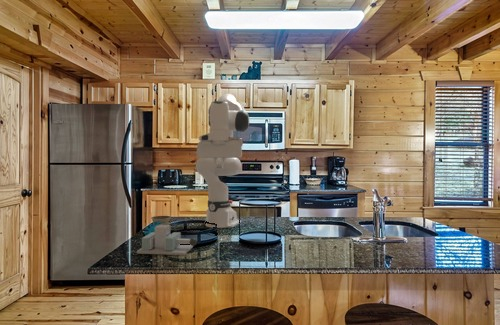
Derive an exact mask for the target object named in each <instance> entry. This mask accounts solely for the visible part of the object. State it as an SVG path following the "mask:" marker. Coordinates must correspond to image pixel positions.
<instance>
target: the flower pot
mask: <svg viewBox="0 0 500 325" xmlns="http://www.w3.org/2000/svg"><path fill="white" fill-rule="evenodd" d="M150 217H151V216H150ZM170 220H171V216H169V215H155V216H152V217H151V221H152V226H153V225H154V222H157V223H158V222H159V221H160V222H161V224H162V223H163V224H164V225H170ZM161 224H159V225H161Z"/></svg>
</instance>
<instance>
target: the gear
mask: <svg viewBox="0 0 500 325" xmlns="http://www.w3.org/2000/svg"><path fill="white" fill-rule="evenodd" d="M159 224H161V222H160V221H159V222H158V223H157V222H154V225H153V223H149V224H148V226H149V227H148V226H146V227H145V230H144V232H143V233H144V235H145V236H146V235H148V234H150V233H151V232H155V227H156V226H158V225H159ZM161 225H164V224H163V223H162V224H161ZM145 236H144V237H145Z"/></svg>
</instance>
